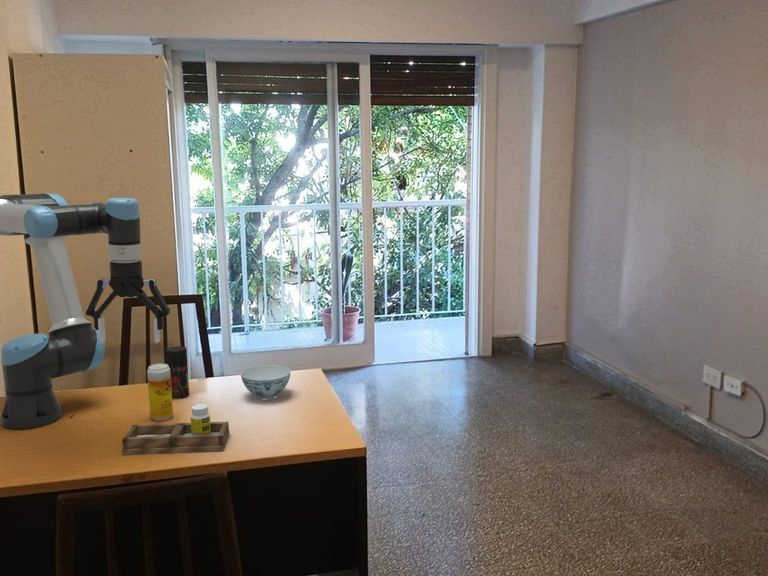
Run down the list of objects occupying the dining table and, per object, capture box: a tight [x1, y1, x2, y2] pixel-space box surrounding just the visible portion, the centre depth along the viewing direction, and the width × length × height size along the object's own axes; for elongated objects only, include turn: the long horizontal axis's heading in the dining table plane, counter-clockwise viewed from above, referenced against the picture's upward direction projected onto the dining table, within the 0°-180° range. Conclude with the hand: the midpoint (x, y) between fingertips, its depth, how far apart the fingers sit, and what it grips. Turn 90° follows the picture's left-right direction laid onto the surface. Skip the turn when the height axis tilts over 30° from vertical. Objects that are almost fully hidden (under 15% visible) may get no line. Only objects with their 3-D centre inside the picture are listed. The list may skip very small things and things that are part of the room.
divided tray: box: [121, 421, 230, 456], centre depth 170 cm, size 24×11×4 cm, turn 95°
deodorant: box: [165, 345, 190, 400], centre depth 205 cm, size 6×6×15 cm
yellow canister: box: [146, 363, 174, 422], centre depth 187 cm, size 6×6×15 cm
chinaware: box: [240, 364, 291, 400], centre depth 205 cm, size 15×15×8 cm
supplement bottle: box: [190, 403, 211, 435], centre depth 170 cm, size 5×5×8 cm
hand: (130, 341), depth 172 cm, fingers open, 13 cm apart
